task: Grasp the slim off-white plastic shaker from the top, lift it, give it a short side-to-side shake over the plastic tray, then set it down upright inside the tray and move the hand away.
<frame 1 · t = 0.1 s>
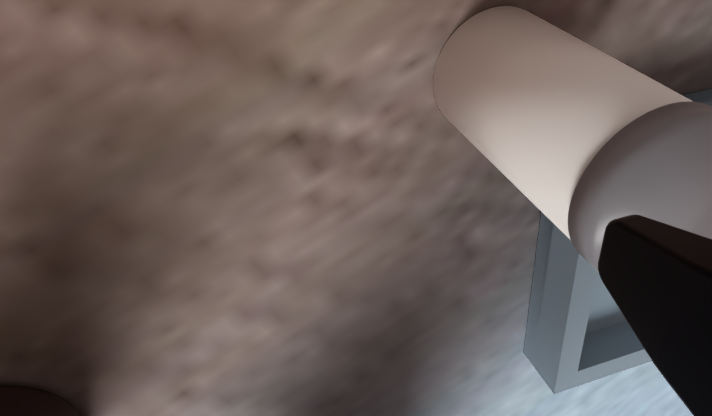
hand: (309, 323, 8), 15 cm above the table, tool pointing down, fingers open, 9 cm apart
shaker: (492, 71, 25), on the table
tray: (657, 219, 33), on the table
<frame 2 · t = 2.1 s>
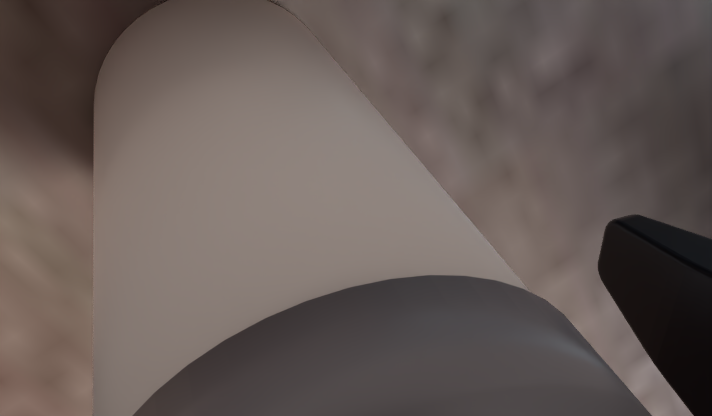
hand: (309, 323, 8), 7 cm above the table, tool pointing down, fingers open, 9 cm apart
shaker: (222, 112, 14), on the table
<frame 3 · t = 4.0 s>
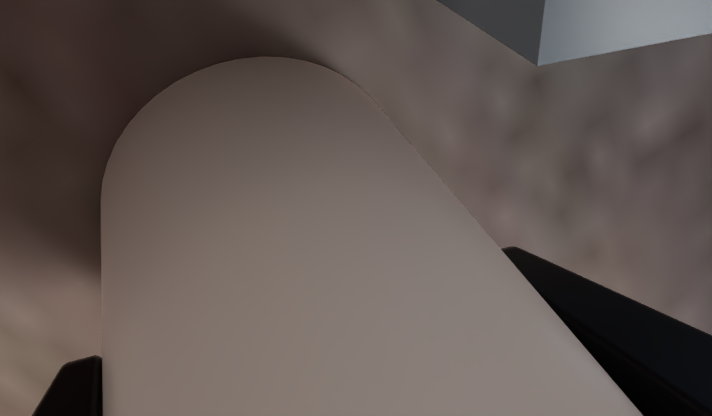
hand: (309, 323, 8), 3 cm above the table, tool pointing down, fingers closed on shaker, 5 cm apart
shaker: (261, 201, 11), on the table, touching gripper
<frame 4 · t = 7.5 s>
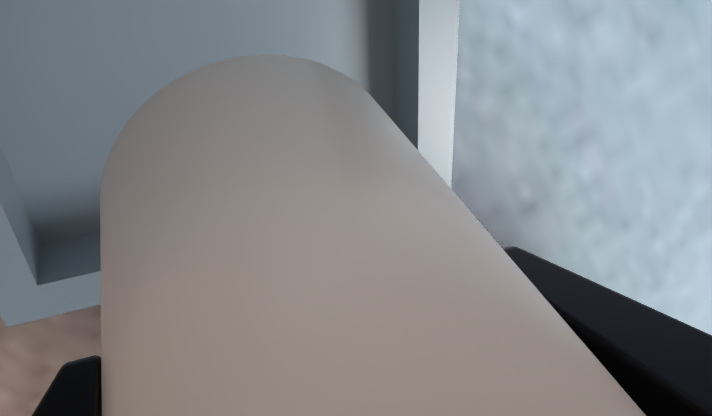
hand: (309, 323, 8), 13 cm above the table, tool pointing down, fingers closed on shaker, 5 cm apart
shaker: (261, 199, 11), point 10 cm above the table, touching gripper
tray: (192, 19, 19), on the table
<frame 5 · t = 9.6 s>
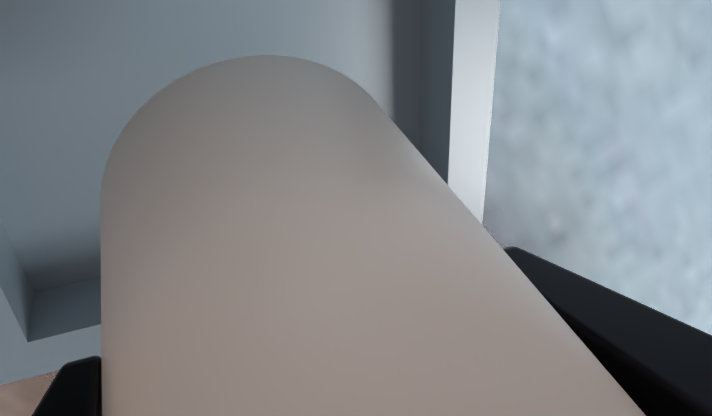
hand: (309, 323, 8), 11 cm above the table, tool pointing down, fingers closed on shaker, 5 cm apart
shaker: (261, 200, 11), point 8 cm above the table, touching gripper
tray: (199, 46, 17), on the table
when the fingers open (5 cm above the table, at t = 11.4 s): shaker drops 1 cm, resting on tray.
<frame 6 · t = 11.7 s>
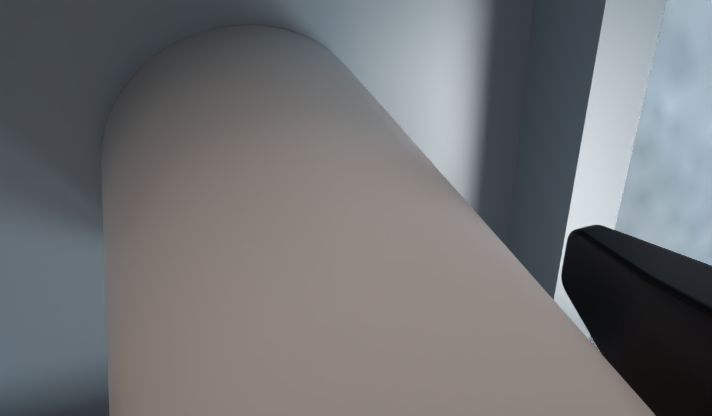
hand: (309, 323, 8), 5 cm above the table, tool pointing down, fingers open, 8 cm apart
shaker: (246, 159, 12), point 1 cm above the table, touching tray
tray: (235, 135, 13), on the table
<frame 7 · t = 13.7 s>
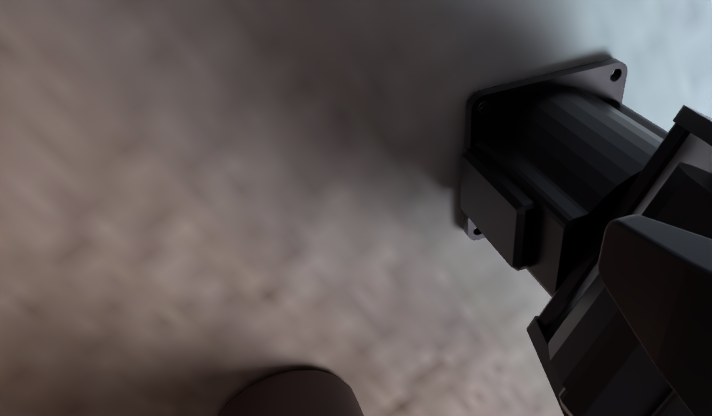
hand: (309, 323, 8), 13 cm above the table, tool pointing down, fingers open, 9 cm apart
vinegar: (282, 415, 29), on the table
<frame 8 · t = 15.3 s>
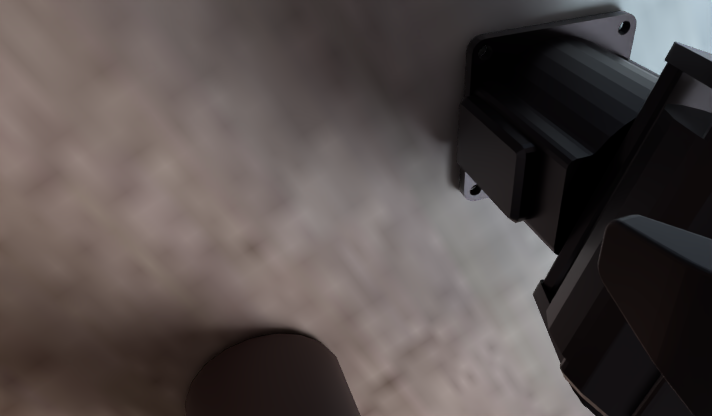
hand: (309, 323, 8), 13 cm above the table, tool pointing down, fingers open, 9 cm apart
vinegar: (263, 384, 28), on the table
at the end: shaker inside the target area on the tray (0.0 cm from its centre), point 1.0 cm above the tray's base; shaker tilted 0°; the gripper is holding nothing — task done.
